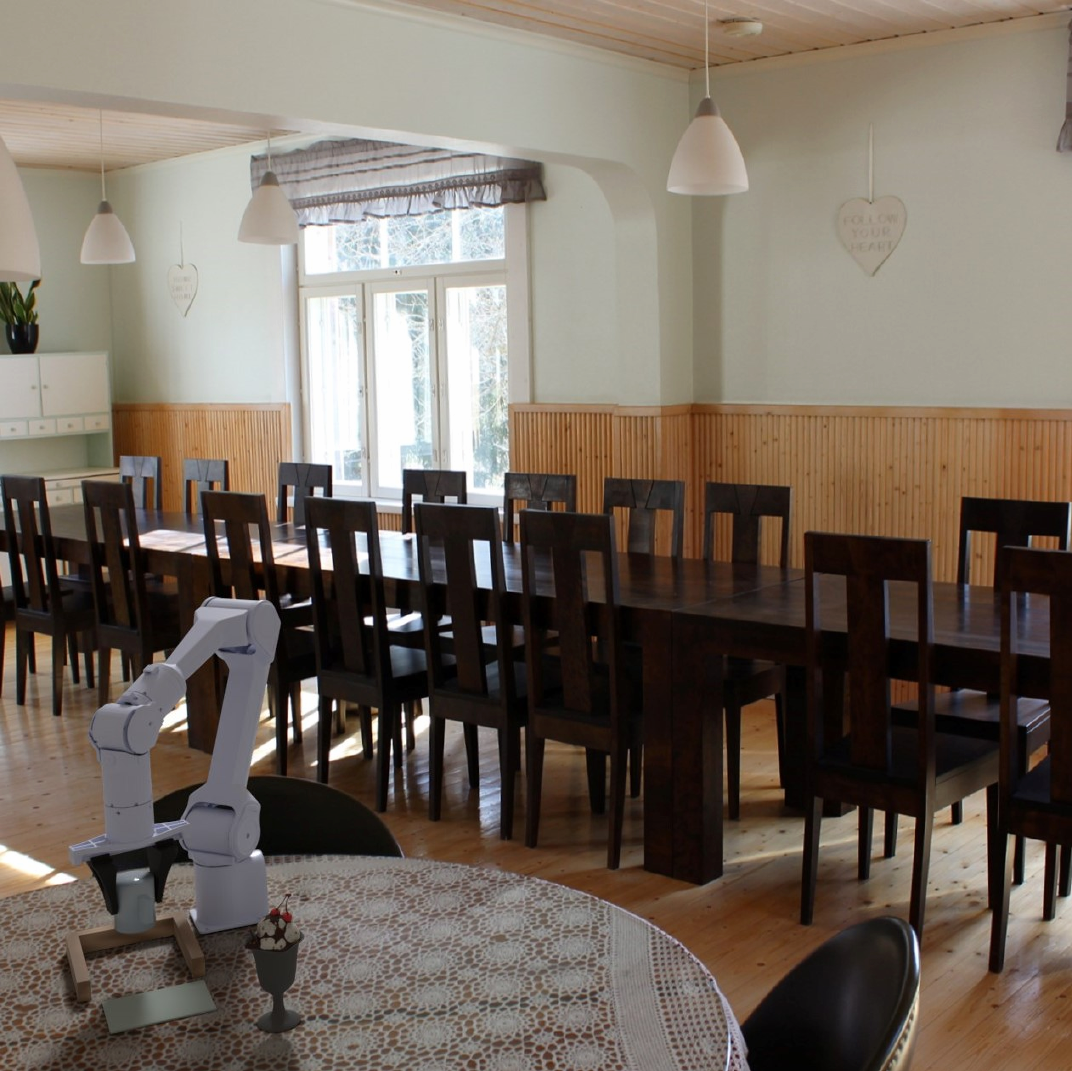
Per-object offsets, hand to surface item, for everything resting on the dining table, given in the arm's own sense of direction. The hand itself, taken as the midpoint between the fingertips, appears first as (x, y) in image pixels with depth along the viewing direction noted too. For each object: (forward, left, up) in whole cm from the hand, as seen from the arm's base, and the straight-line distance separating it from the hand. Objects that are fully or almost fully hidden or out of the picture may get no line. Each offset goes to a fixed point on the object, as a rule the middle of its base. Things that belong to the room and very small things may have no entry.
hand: (134, 906), depth 161 cm
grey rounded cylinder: (0, 0, -3) cm, 3 cm away
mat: (-1, +9, -9) cm, 13 cm away
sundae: (-13, +19, -9) cm, 25 cm away
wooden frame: (0, -4, -9) cm, 10 cm away
